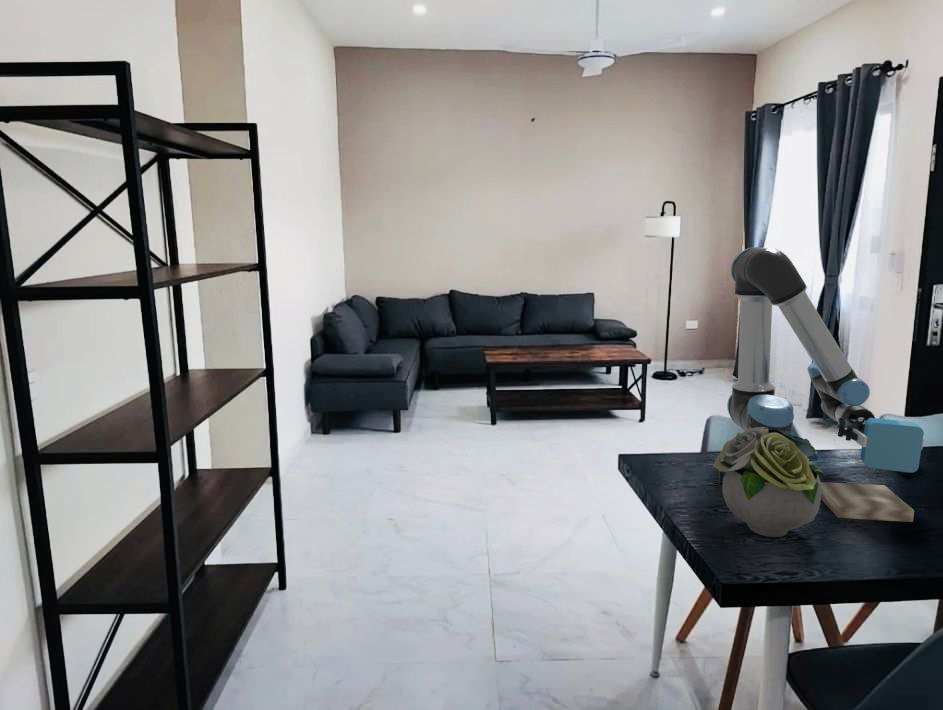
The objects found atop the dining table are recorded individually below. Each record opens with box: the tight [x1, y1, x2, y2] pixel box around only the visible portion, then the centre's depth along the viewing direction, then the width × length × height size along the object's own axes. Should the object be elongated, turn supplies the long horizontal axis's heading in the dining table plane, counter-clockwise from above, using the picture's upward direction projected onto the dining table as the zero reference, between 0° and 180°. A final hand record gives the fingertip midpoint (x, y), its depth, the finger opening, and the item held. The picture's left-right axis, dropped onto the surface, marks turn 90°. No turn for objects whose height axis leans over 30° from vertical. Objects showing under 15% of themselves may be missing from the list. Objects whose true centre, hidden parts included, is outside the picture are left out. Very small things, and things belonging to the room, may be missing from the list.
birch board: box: [821, 481, 915, 523], centre depth 173 cm, size 17×16×3 cm
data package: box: [860, 417, 925, 474], centre depth 171 cm, size 12×4×12 cm, turn 70°
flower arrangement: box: [712, 427, 824, 538], centre depth 158 cm, size 25×25×24 cm
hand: (893, 443), depth 170 cm, fingers closed on data package, 13 cm apart
